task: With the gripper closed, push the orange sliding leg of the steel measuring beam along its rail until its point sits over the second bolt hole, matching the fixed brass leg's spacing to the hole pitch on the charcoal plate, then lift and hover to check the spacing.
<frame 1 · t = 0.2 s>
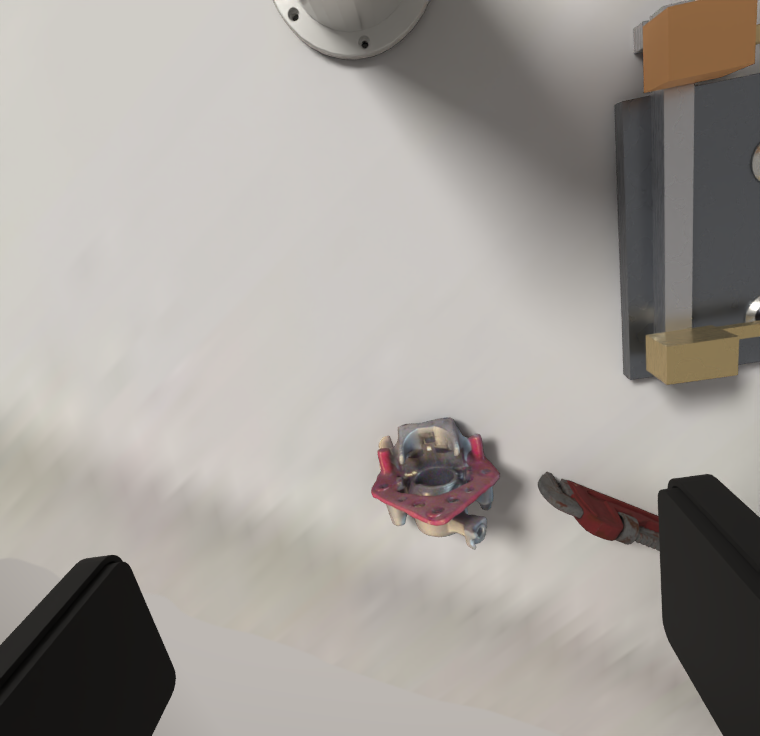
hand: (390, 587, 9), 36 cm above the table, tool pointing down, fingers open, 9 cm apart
red grey carburetor: (433, 458, 49), on the table
sliding leg: (738, 37, 32), point 5 cm above the table, slide at -8.0 cm
bolt plate: (721, 245, 41), on the table
pipe wrench: (668, 524, 50), on the table
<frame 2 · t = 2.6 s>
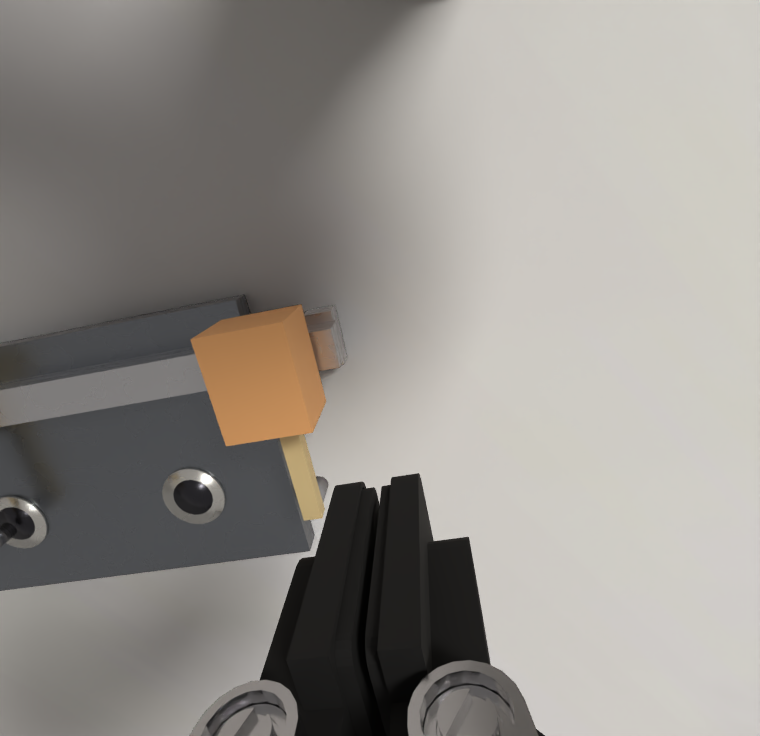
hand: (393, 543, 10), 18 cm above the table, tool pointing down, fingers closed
sliding leg: (285, 424, 24), point 5 cm above the table, slide at -8.0 cm
bolt plate: (100, 454, 31), on the table
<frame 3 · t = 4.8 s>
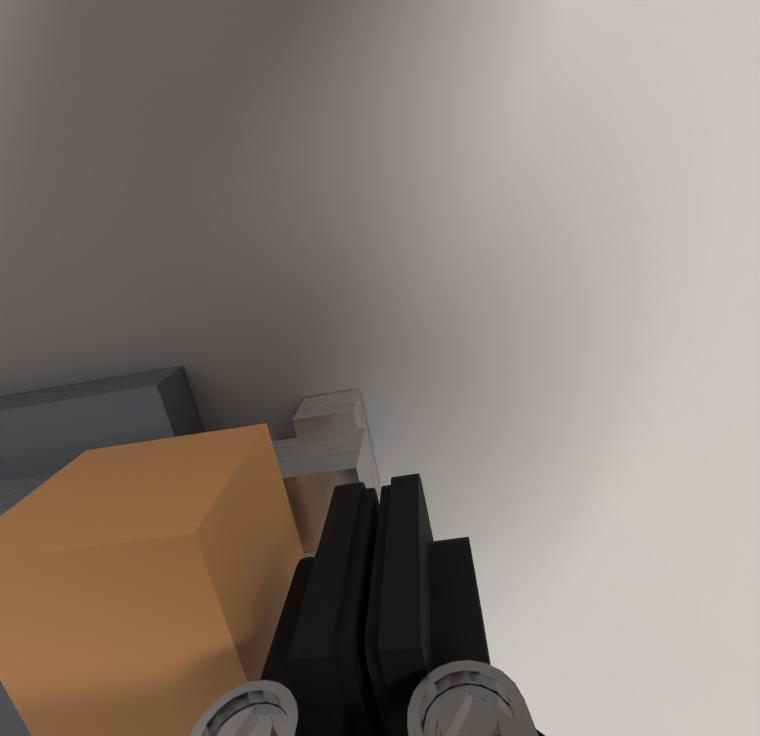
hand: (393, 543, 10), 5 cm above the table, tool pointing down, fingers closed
sliding leg: (232, 677, 11), point 5 cm above the table, slide at -7.5 cm, touching gripper
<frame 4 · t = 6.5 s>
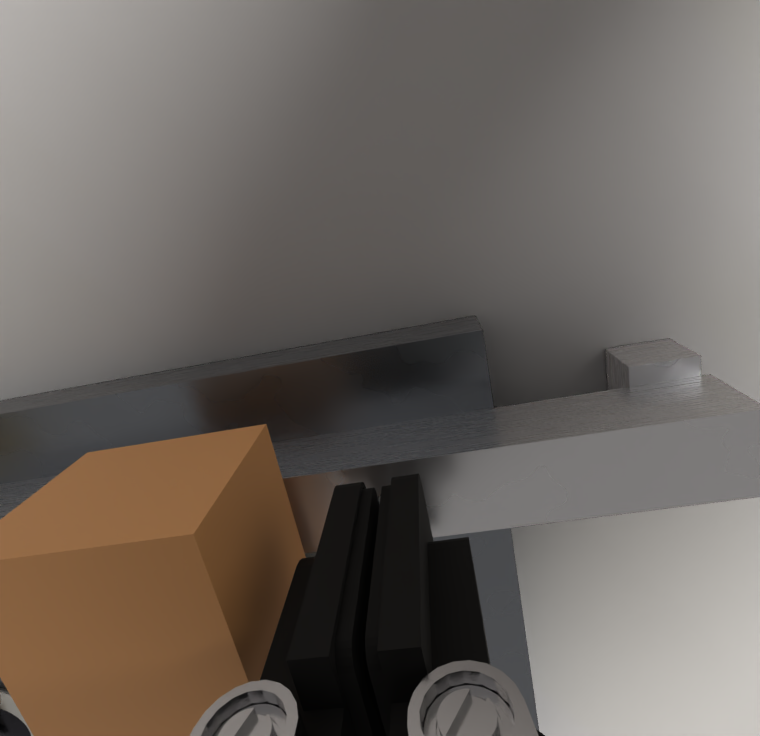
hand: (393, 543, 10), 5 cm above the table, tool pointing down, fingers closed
sliding leg: (234, 677, 11), point 5 cm above the table, slide at 0.7 cm, touching gripper
bolt plate: (154, 605, 17), on the table
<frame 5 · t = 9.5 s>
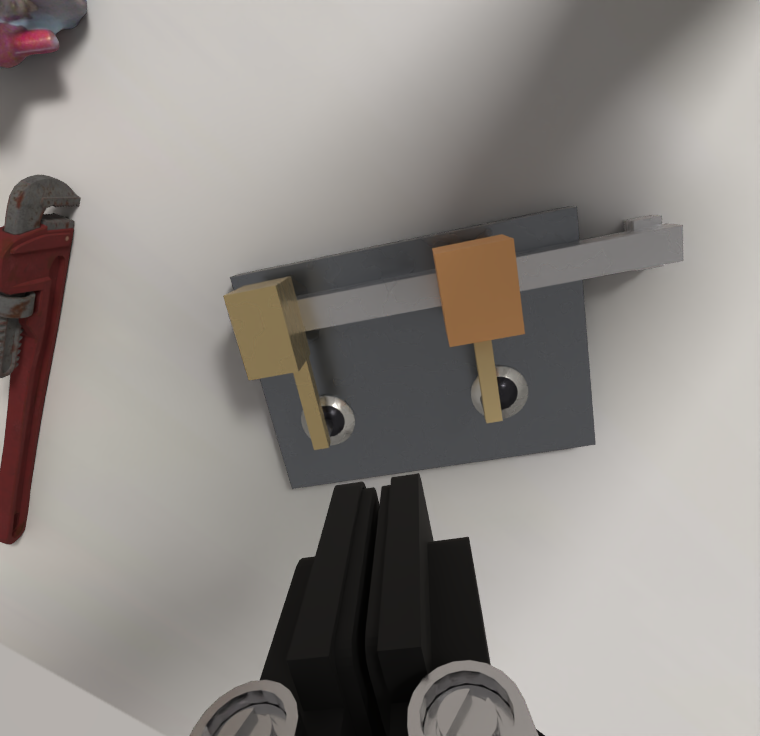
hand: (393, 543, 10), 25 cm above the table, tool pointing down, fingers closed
sliding leg: (482, 337, 29), point 5 cm above the table, slide at 0.9 cm
bolt plate: (404, 359, 35), on the table
pipe wrench: (45, 375, 38), on the table
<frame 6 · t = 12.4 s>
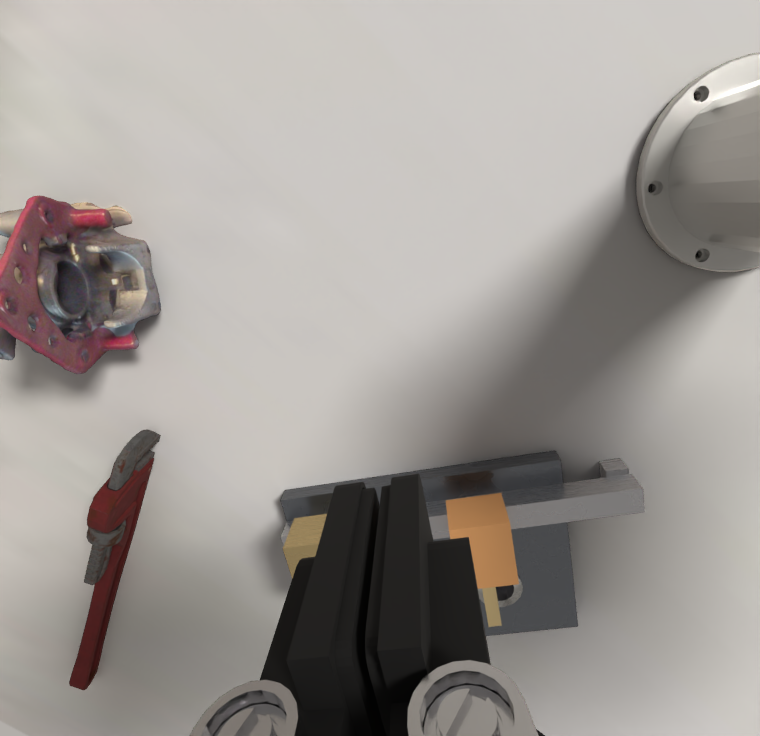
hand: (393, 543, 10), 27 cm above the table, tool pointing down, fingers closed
red grey carburetor: (103, 278, 37), on the table
sliding leg: (485, 567, 37), point 5 cm above the table, slide at 0.9 cm
bolt plate: (420, 554, 42), on the table
pipe wrench: (121, 557, 45), on the table
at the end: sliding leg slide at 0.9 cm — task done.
